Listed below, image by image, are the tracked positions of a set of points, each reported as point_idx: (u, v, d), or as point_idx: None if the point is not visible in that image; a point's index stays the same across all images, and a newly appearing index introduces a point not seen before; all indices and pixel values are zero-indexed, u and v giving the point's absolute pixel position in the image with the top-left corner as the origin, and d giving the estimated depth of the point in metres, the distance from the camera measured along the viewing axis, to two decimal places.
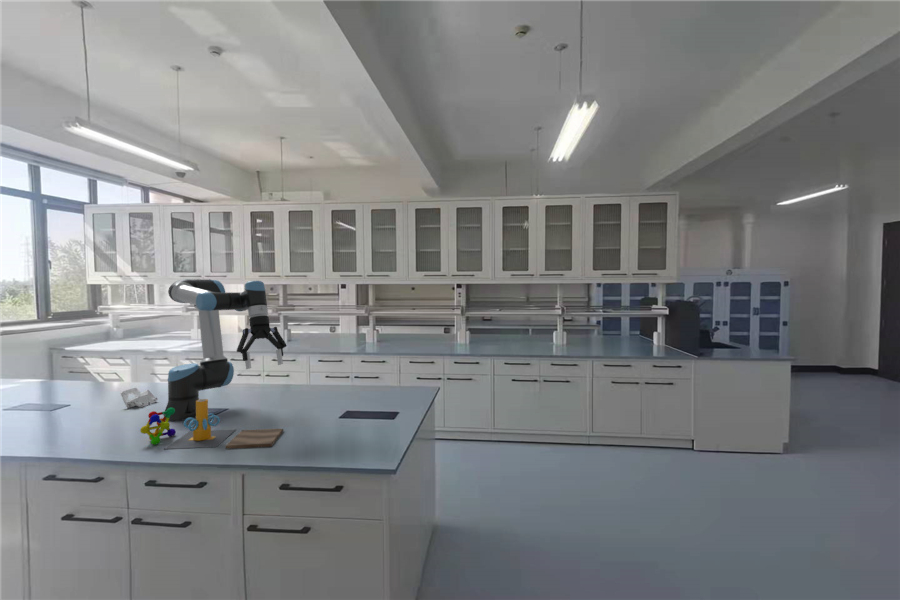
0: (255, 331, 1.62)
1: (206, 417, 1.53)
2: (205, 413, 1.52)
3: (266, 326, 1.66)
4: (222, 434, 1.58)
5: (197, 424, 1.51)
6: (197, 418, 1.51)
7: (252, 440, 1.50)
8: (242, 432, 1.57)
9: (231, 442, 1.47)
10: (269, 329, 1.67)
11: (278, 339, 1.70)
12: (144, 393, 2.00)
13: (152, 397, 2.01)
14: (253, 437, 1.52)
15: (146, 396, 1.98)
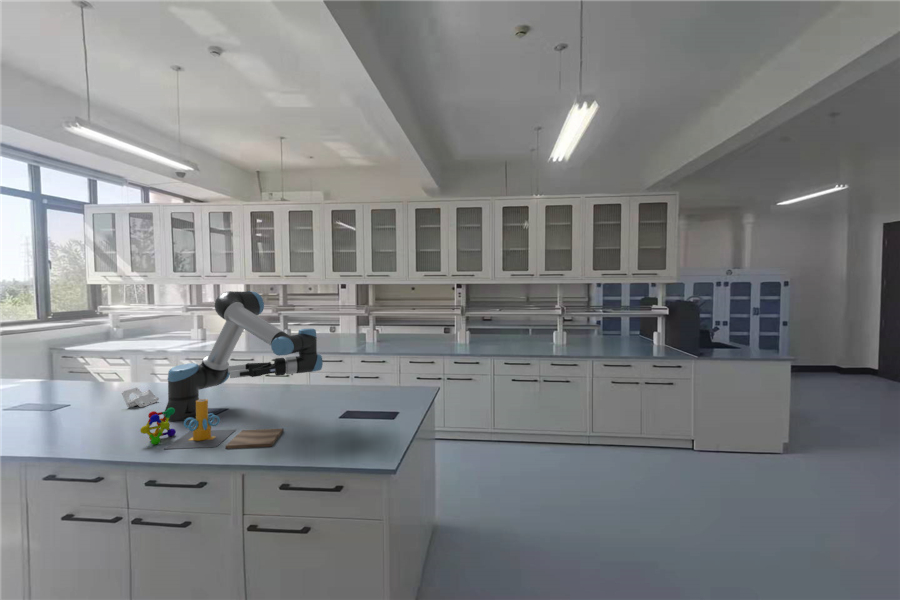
0: None
1: (206, 417, 1.53)
2: (205, 413, 1.52)
3: None
4: (222, 434, 1.58)
5: (197, 424, 1.51)
6: (197, 418, 1.51)
7: (252, 440, 1.50)
8: (242, 432, 1.57)
9: (231, 442, 1.47)
10: None
11: None
12: (145, 393, 2.00)
13: (153, 397, 2.02)
14: (253, 437, 1.52)
15: (147, 396, 1.99)
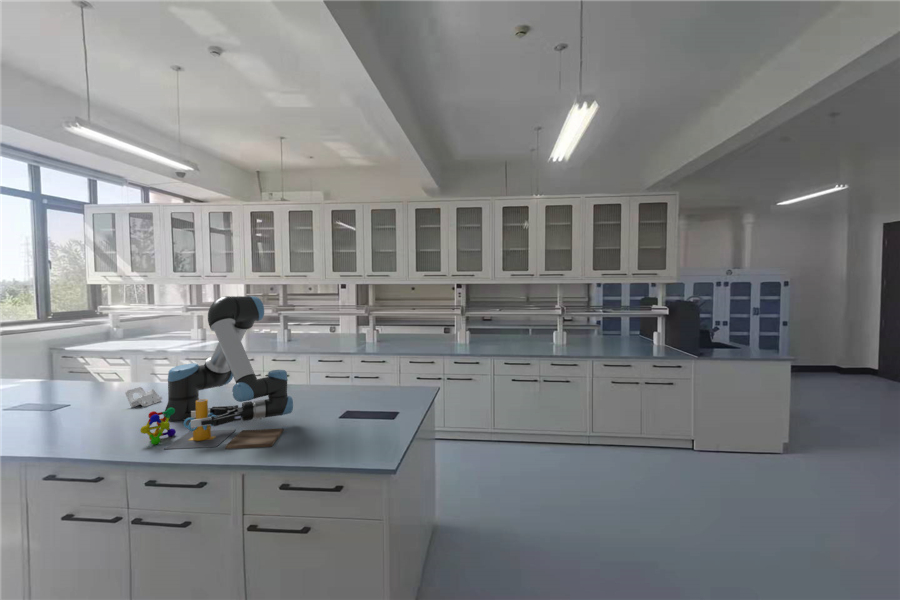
0: None
1: (206, 417, 1.53)
2: (205, 413, 1.52)
3: None
4: (222, 434, 1.58)
5: None
6: (197, 418, 1.51)
7: (252, 440, 1.50)
8: (242, 432, 1.57)
9: (231, 442, 1.47)
10: None
11: None
12: (149, 392, 2.02)
13: (157, 396, 2.03)
14: (253, 437, 1.52)
15: (150, 395, 2.00)
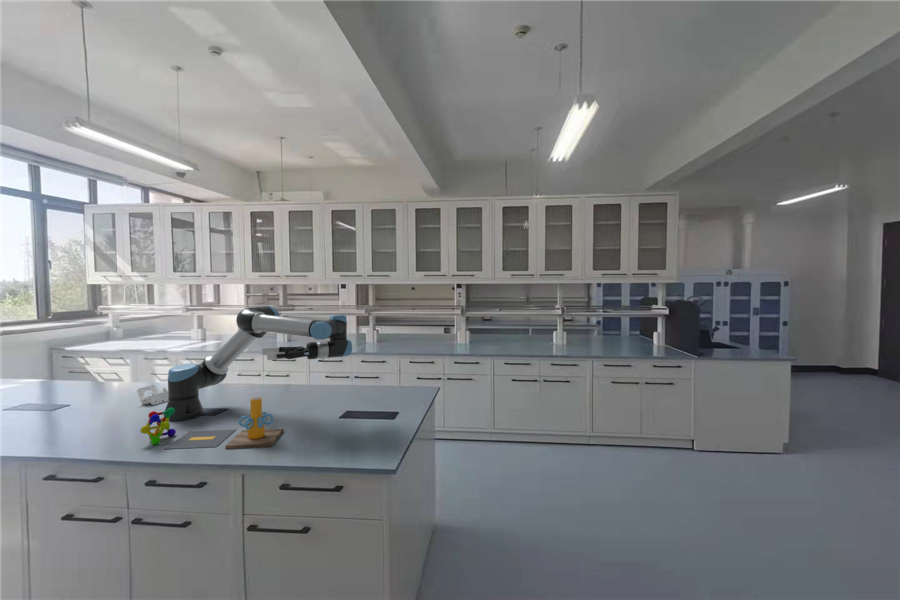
0: None
1: (260, 415, 1.53)
2: (260, 411, 1.52)
3: None
4: (222, 434, 1.58)
5: (252, 422, 1.51)
6: (252, 416, 1.51)
7: (252, 440, 1.50)
8: (242, 432, 1.57)
9: (231, 442, 1.47)
10: None
11: None
12: (160, 391, 2.05)
13: (167, 395, 2.05)
14: None
15: (161, 394, 2.03)
